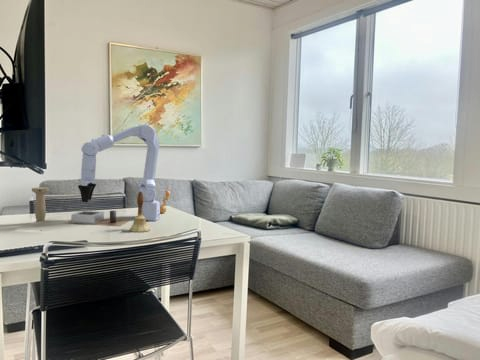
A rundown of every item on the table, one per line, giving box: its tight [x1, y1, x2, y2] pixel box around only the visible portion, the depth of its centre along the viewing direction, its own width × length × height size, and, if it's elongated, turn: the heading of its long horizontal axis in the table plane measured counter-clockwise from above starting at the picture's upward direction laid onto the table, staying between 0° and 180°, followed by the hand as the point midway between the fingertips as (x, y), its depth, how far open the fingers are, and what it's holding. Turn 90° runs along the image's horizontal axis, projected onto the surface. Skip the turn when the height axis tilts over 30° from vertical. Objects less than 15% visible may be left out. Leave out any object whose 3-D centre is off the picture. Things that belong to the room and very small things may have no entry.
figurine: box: [160, 189, 172, 214], centre depth 205 cm, size 8×6×12 cm
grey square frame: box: [70, 210, 105, 225], centre depth 173 cm, size 10×10×4 cm
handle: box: [31, 186, 50, 223], centre depth 170 cm, size 5×6×15 cm
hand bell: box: [129, 192, 151, 233], centre depth 164 cm, size 8×8×16 cm
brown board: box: [68, 210, 131, 227], centre depth 173 cm, size 22×13×6 cm, turn 87°
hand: (86, 200), depth 174 cm, fingers open, 7 cm apart
